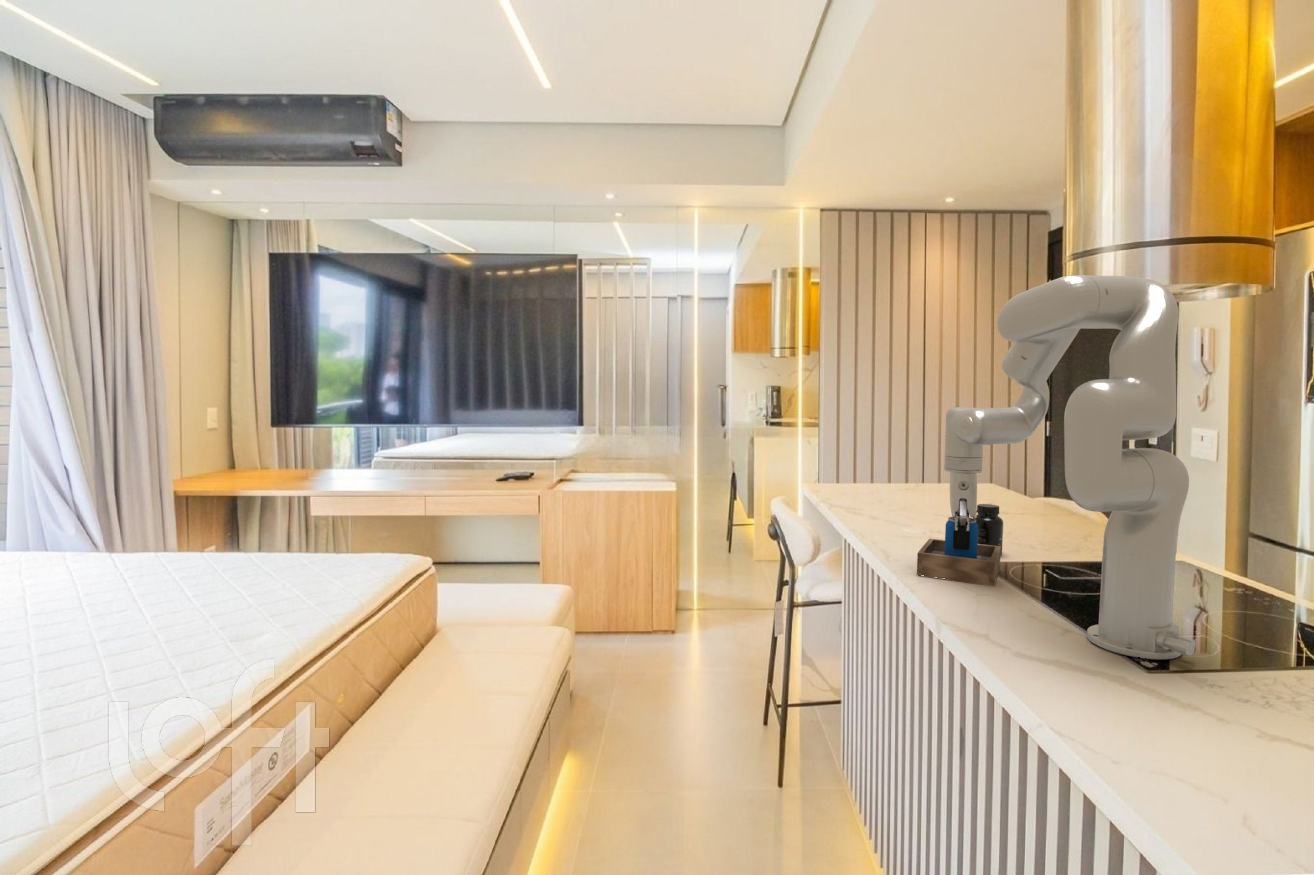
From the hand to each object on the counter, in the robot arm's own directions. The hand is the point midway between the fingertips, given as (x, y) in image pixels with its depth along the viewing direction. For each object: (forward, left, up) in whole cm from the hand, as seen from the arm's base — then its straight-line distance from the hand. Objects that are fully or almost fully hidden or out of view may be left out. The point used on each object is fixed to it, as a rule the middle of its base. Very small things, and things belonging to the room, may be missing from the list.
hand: (960, 544), depth 151 cm
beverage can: (0, 0, -7) cm, 7 cm away
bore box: (0, 0, -6) cm, 6 cm away
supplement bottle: (+9, -17, -6) cm, 20 cm away
